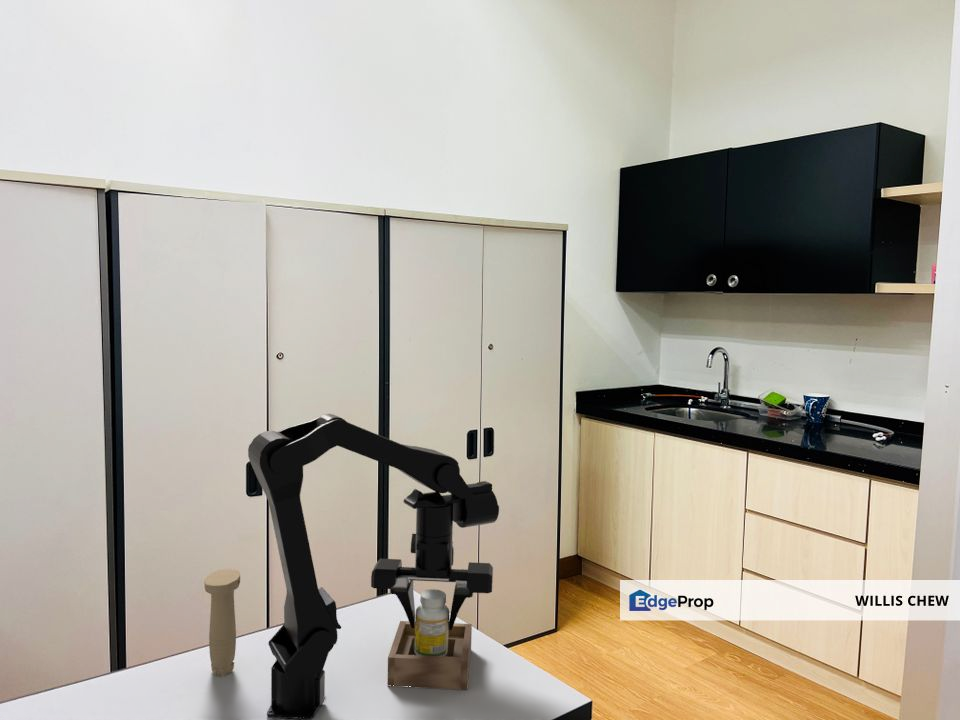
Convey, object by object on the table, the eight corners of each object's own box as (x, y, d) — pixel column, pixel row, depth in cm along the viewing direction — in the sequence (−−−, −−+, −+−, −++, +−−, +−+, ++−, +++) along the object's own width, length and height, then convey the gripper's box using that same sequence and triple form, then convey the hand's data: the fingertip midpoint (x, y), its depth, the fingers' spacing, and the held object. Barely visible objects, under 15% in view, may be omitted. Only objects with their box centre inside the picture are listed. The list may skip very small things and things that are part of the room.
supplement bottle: (439, 664, 105) (442, 604, 104) (408, 657, 107) (410, 597, 106) (452, 648, 110) (455, 590, 109) (422, 642, 112) (424, 585, 111)
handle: (244, 660, 109) (244, 569, 108) (232, 682, 102) (232, 585, 101) (213, 660, 109) (213, 569, 107) (199, 682, 102) (198, 585, 101)
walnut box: (387, 686, 103) (387, 657, 102) (399, 646, 115) (400, 620, 114) (466, 689, 102) (467, 661, 102) (471, 650, 114) (471, 624, 114)
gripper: (494, 518, 114) (492, 608, 116) (384, 513, 115) (382, 603, 116) (493, 540, 103) (490, 640, 104) (371, 535, 104) (369, 634, 105)
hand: (431, 628), depth 108 cm, fingers open, 6 cm apart
